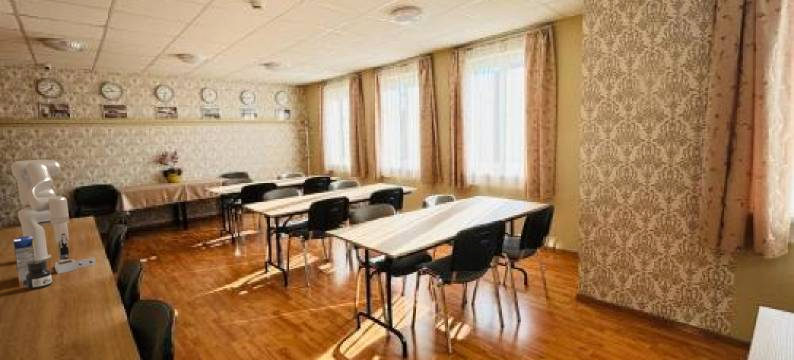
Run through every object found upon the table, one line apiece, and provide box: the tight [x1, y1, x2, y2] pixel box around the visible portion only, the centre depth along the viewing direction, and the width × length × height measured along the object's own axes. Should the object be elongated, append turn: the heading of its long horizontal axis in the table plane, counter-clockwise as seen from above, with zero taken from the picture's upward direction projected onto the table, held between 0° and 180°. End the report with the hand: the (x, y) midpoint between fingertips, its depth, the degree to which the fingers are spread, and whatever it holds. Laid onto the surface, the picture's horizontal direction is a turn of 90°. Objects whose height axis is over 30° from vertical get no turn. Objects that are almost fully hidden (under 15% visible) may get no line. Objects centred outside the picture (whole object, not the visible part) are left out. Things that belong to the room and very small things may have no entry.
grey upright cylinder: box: [57, 245, 71, 261], centre depth 212 cm, size 4×4×7 cm
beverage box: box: [13, 236, 36, 287], centre depth 196 cm, size 7×11×22 cm, turn 44°
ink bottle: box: [26, 259, 53, 290], centre depth 189 cm, size 10×9×12 cm
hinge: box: [54, 256, 96, 275], centre depth 219 cm, size 17×17×4 cm
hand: (64, 253), depth 212 cm, fingers closed on grey upright cylinder, 4 cm apart
